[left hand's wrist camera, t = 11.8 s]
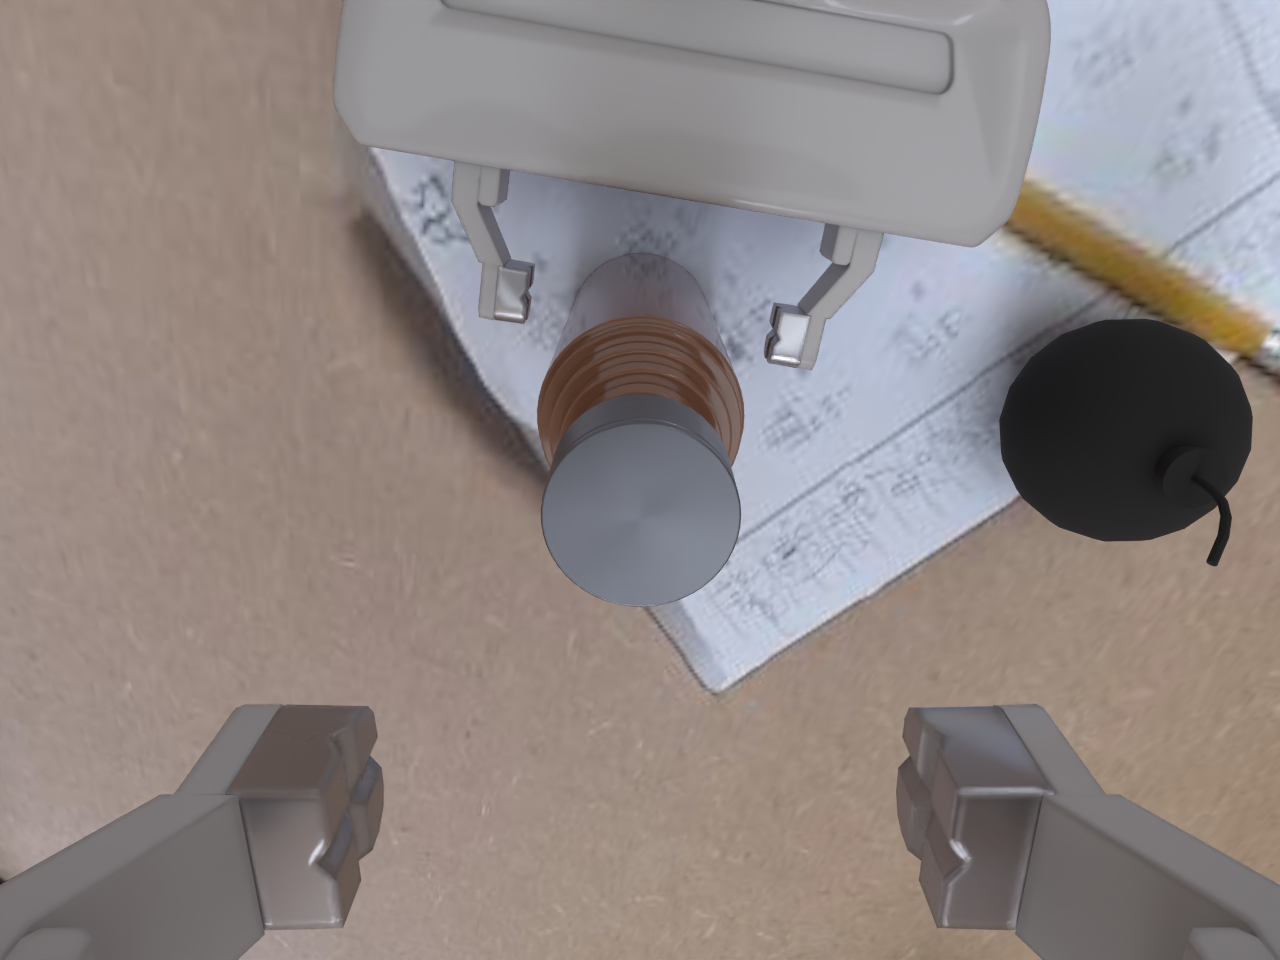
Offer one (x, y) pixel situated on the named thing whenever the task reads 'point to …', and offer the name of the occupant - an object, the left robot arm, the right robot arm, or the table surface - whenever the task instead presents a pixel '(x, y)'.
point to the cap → (640, 501)
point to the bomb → (1127, 431)
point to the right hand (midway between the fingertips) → (646, 341)
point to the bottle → (640, 350)
